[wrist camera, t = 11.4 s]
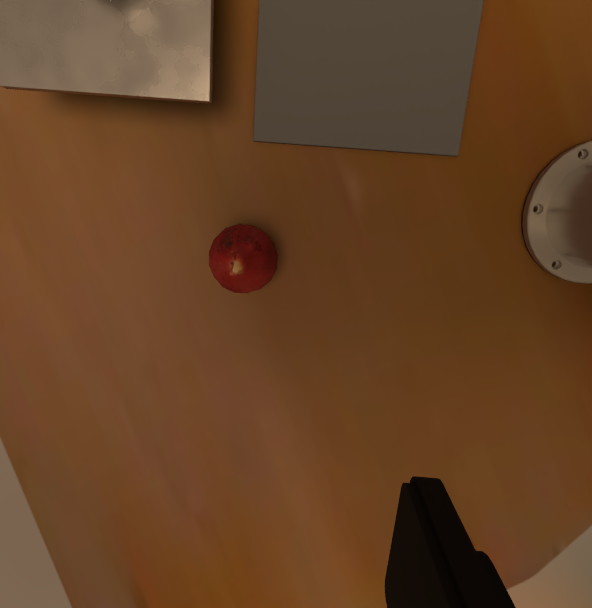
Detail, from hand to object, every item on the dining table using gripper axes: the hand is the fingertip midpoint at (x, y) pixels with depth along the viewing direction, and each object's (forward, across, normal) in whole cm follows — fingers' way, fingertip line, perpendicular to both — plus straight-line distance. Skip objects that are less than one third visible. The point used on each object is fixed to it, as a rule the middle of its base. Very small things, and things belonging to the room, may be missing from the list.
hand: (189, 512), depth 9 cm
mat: (+30, -6, -21) cm, 37 cm away
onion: (+30, +3, -2) cm, 31 cm away
